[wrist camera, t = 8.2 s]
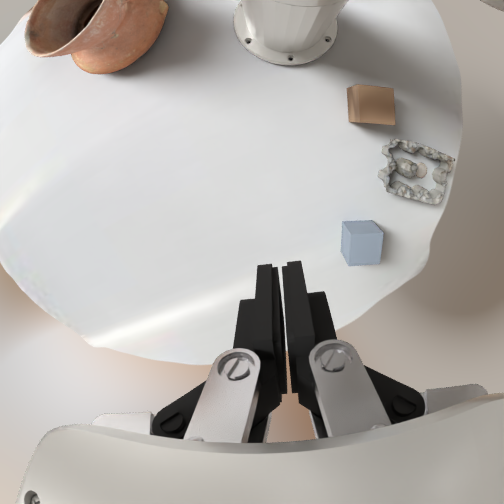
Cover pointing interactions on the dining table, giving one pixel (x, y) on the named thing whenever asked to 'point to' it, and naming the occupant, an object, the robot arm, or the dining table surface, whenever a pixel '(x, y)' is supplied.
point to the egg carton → (416, 172)
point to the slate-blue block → (361, 242)
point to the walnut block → (371, 104)
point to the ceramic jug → (95, 31)
